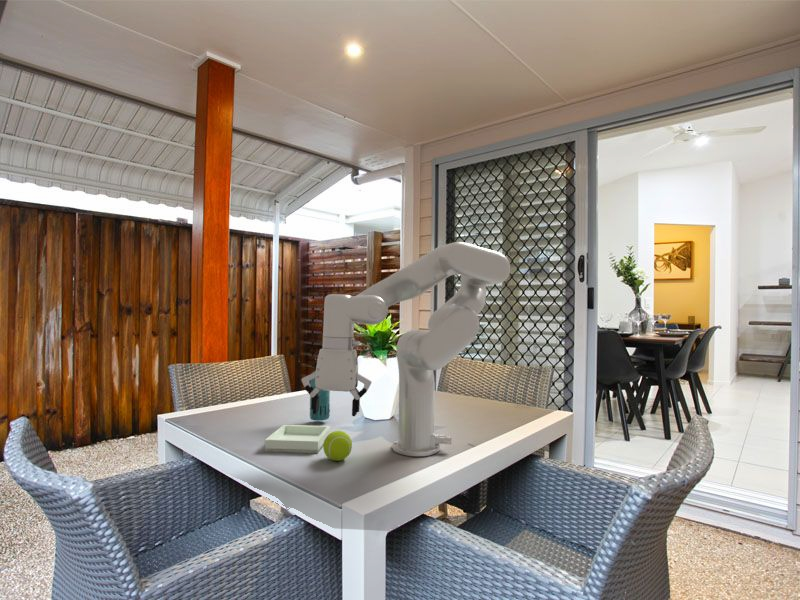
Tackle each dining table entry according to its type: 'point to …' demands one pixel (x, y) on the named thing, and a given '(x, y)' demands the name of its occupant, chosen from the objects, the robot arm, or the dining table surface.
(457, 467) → the dining table surface
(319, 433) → the tray
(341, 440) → the tennis ball
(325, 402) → the beverage bottle
